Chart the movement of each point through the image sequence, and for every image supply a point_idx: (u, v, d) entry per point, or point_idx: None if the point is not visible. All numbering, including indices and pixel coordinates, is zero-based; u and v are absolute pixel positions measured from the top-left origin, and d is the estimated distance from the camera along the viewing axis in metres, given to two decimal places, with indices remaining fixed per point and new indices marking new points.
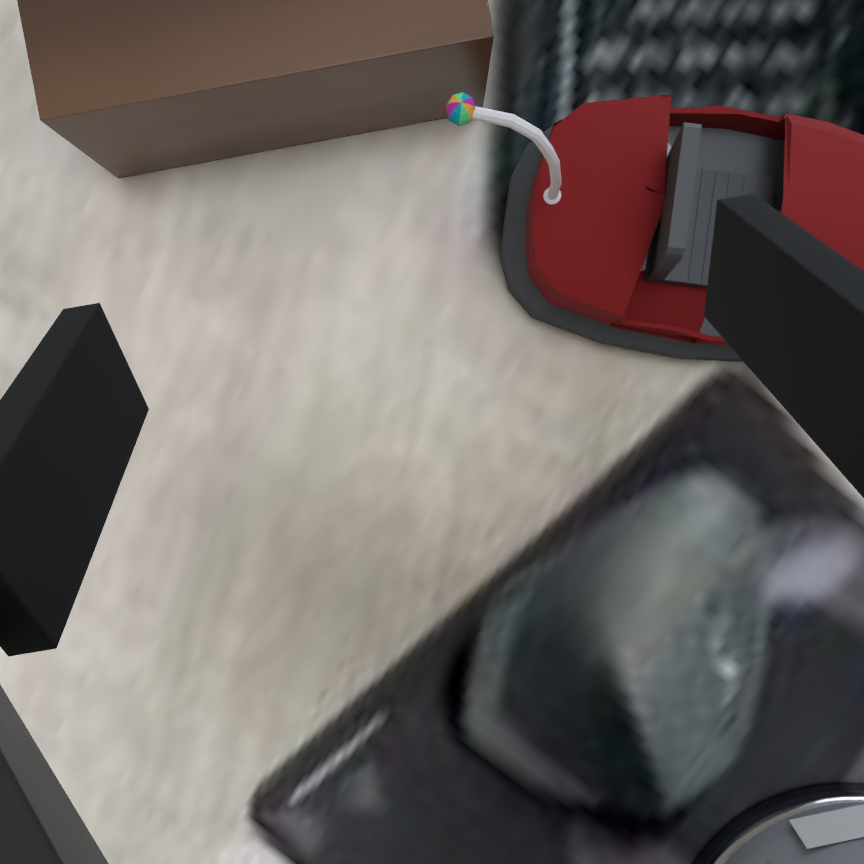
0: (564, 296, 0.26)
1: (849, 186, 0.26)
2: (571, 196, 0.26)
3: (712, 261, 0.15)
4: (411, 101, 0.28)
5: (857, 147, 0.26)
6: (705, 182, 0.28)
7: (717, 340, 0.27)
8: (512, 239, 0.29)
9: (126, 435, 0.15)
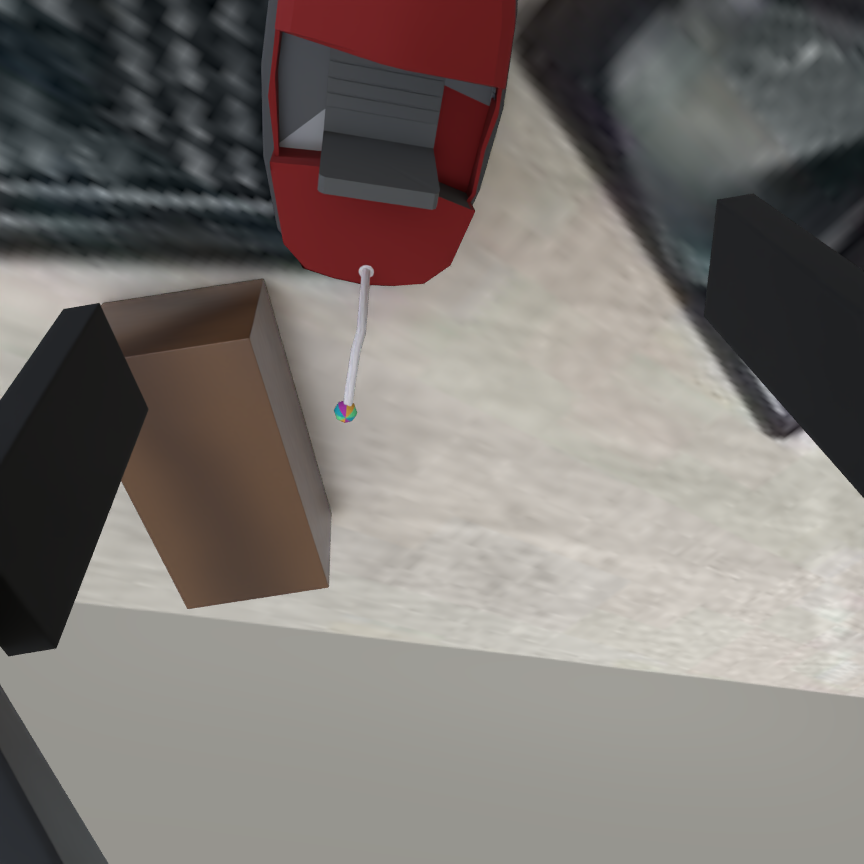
0: (451, 259, 0.30)
1: None
2: (368, 257, 0.30)
3: (712, 262, 0.15)
4: (275, 354, 0.35)
5: None
6: (339, 103, 0.28)
7: (499, 103, 0.28)
8: None
9: (126, 435, 0.15)
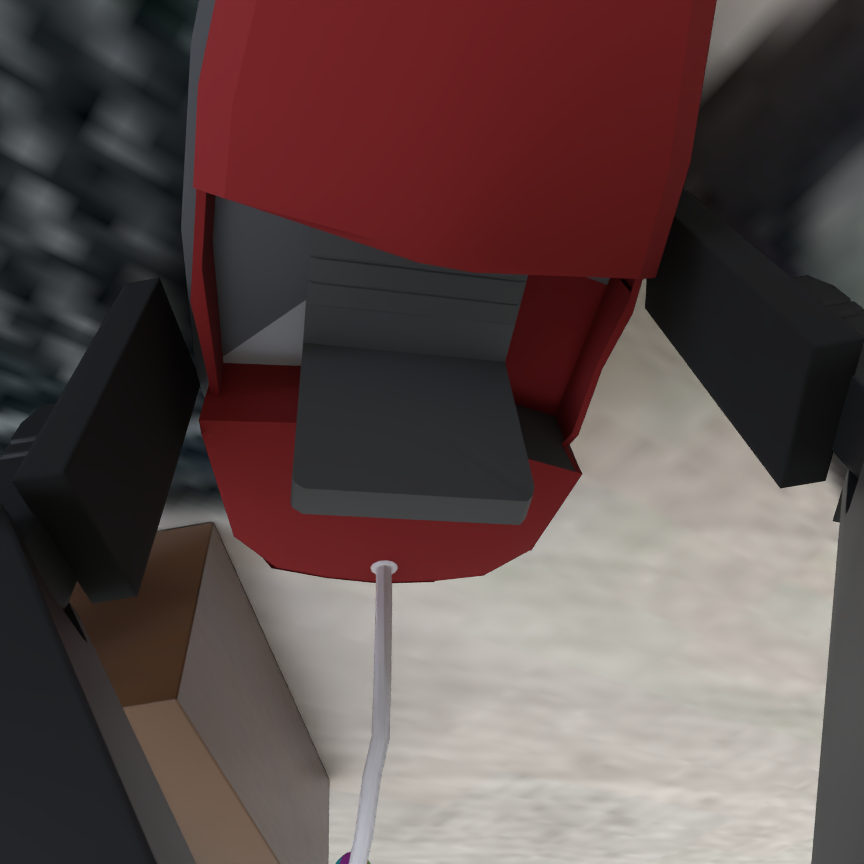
0: None
1: (375, 76, 0.10)
2: (388, 551, 0.17)
3: None
4: (235, 643, 0.21)
5: (267, 33, 0.10)
6: (332, 298, 0.15)
7: (636, 294, 0.15)
8: None
9: (184, 405, 0.15)
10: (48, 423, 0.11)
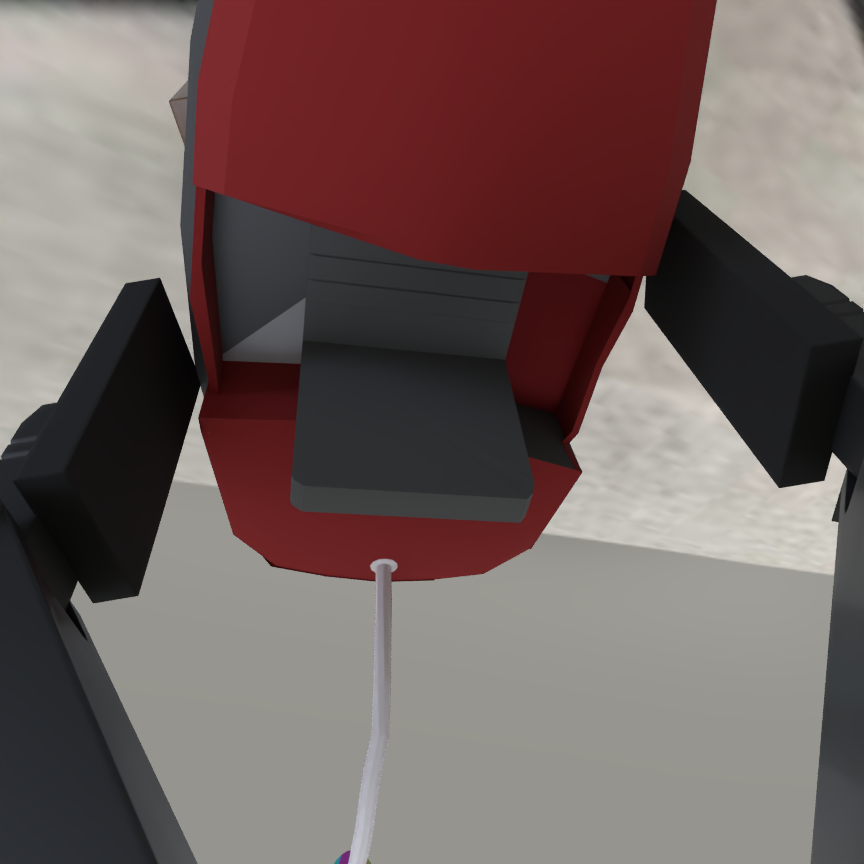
0: None
1: (376, 72, 0.10)
2: (388, 549, 0.17)
3: None
4: None
5: (267, 28, 0.10)
6: (332, 296, 0.14)
7: (636, 292, 0.15)
8: None
9: (184, 404, 0.15)
10: (49, 423, 0.11)
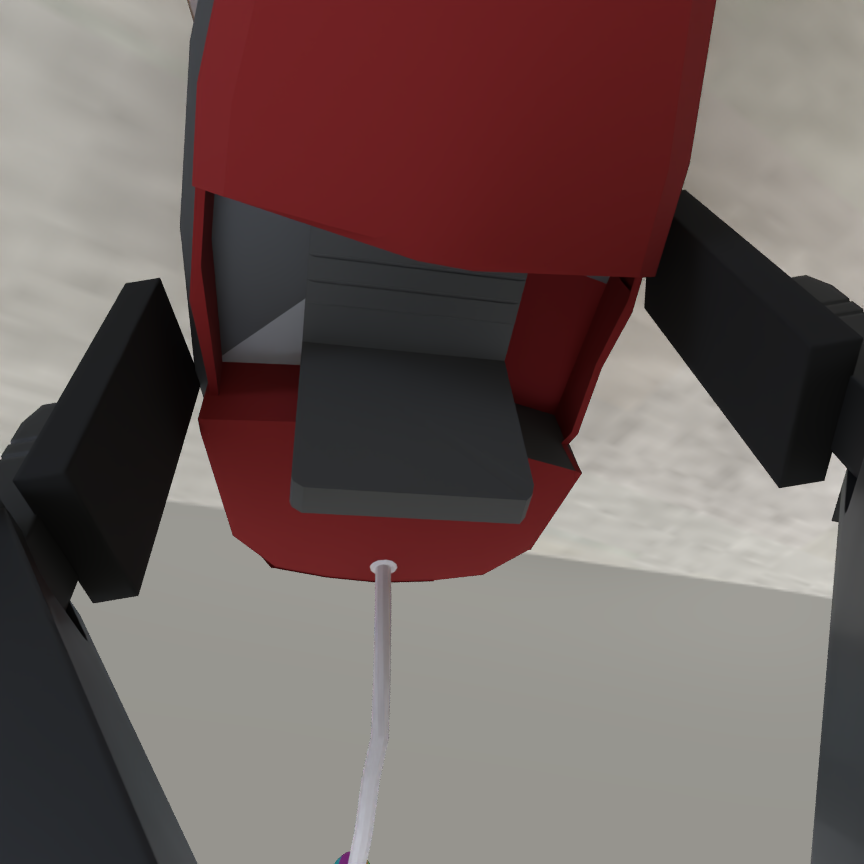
0: None
1: (375, 73, 0.10)
2: (388, 551, 0.17)
3: None
4: None
5: (266, 30, 0.10)
6: (331, 297, 0.14)
7: (636, 293, 0.15)
8: None
9: (184, 404, 0.15)
10: (49, 423, 0.11)
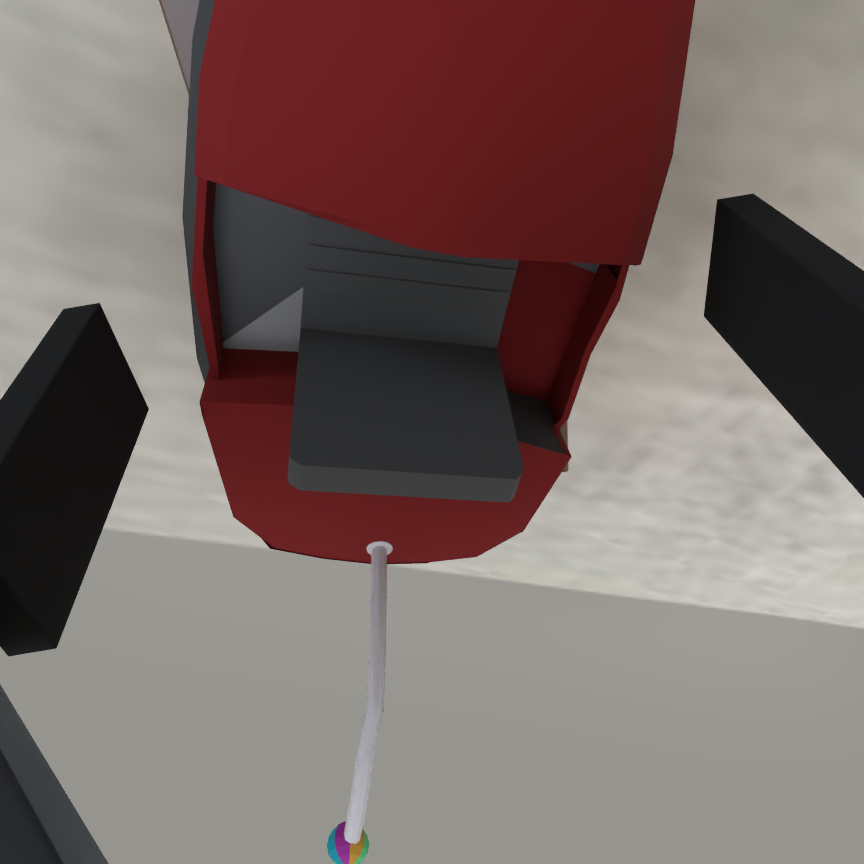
0: None
1: (368, 67, 0.11)
2: (383, 532, 0.17)
3: (712, 261, 0.15)
4: None
5: (265, 26, 0.11)
6: (328, 285, 0.15)
7: (623, 281, 0.15)
8: None
9: (126, 435, 0.15)
10: None
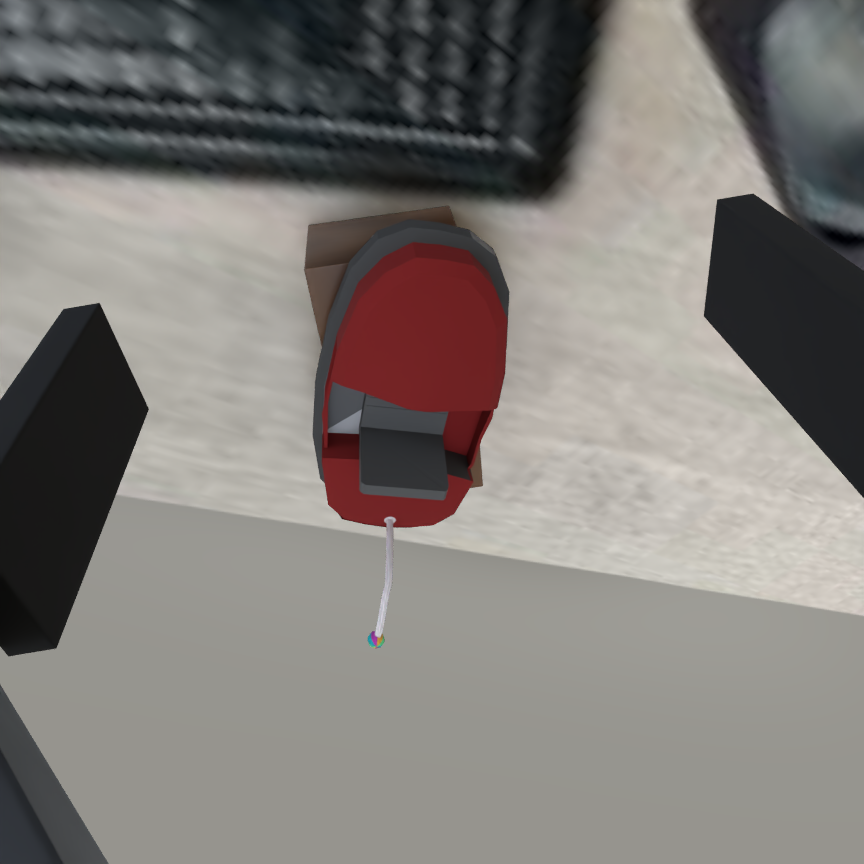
0: (455, 509, 0.40)
1: (395, 355, 0.33)
2: (392, 512, 0.39)
3: (712, 261, 0.15)
4: None
5: (362, 343, 0.33)
6: (373, 411, 0.37)
7: (492, 412, 0.37)
8: None
9: (126, 435, 0.15)
10: None
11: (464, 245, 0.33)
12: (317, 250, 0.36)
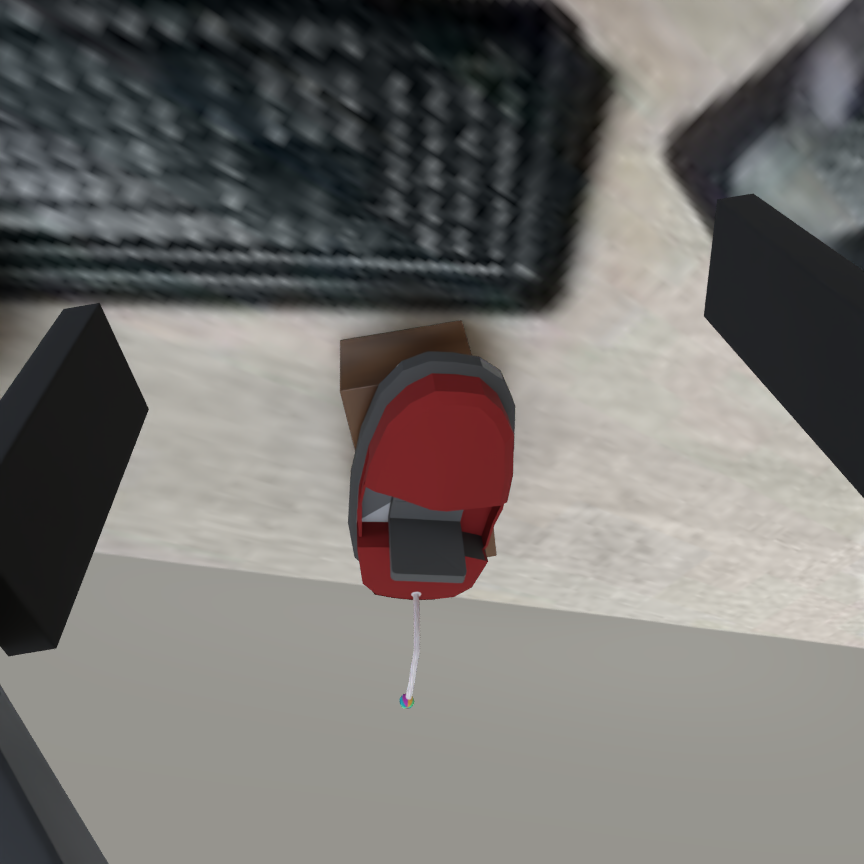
0: (472, 583, 0.46)
1: (419, 468, 0.39)
2: (418, 588, 0.45)
3: (712, 261, 0.15)
4: None
5: (391, 458, 0.39)
6: (400, 505, 0.43)
7: (503, 503, 0.43)
8: None
9: (126, 435, 0.15)
10: None
11: (475, 373, 0.39)
12: (350, 369, 0.43)
